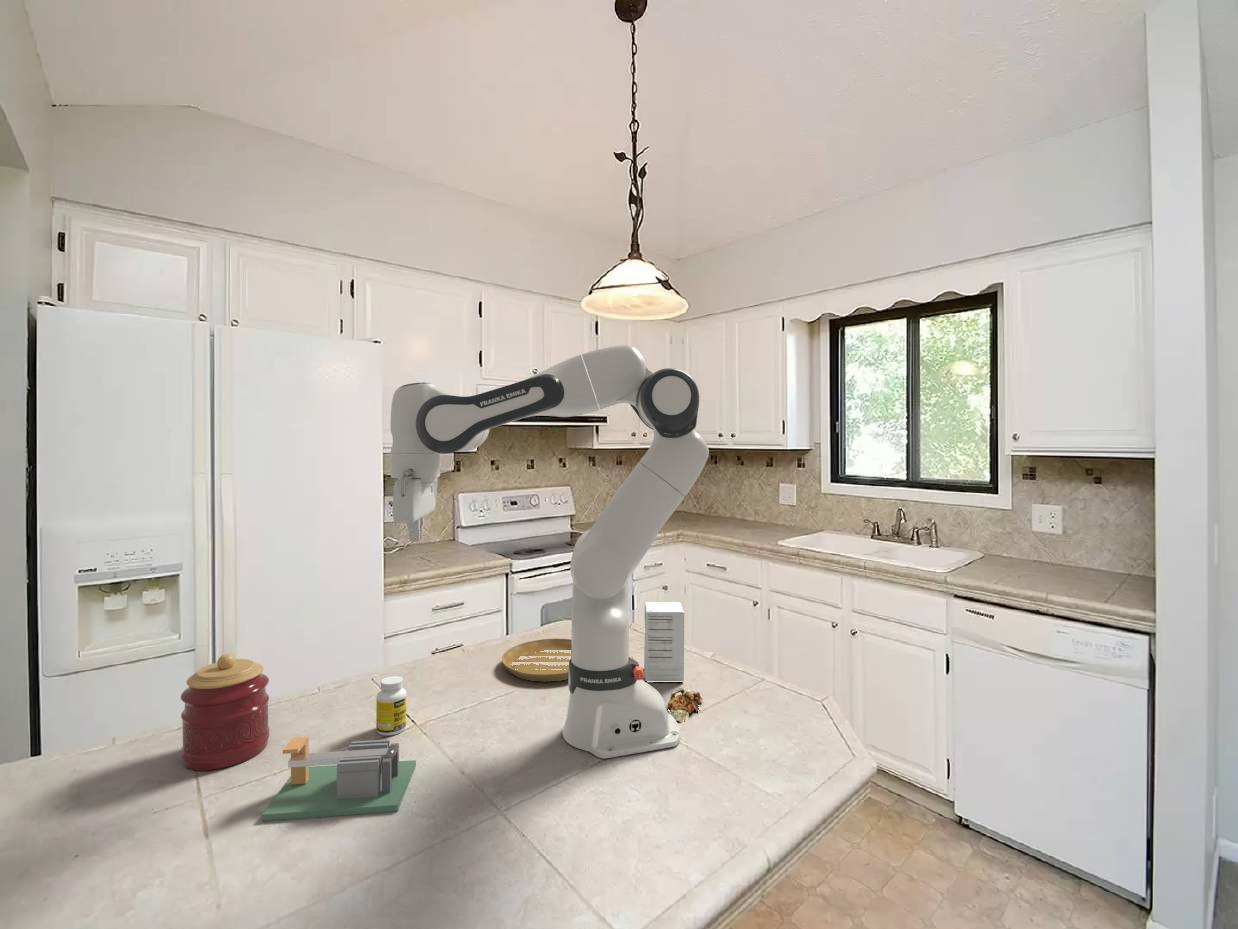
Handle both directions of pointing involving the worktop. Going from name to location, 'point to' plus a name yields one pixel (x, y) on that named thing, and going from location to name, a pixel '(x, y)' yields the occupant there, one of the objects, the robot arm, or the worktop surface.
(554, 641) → the plant saucer
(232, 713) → the canister
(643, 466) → the robot arm
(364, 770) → the heatsink base
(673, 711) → the pastry
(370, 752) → the strap
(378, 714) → the supplement bottle
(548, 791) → the worktop surface
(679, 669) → the supplement box
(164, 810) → the worktop surface
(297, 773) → the bracket
